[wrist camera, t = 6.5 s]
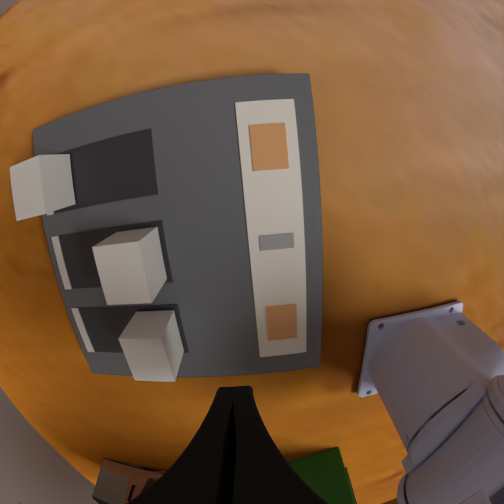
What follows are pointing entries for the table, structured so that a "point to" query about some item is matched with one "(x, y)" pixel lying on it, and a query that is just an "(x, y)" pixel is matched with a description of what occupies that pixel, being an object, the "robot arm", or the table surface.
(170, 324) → the tab
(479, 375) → the robot arm
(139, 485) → the electronic device
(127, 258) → the tab middle
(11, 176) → the tab
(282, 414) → the table surface
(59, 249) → the switch board
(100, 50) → the table surface
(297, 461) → the hardback book
